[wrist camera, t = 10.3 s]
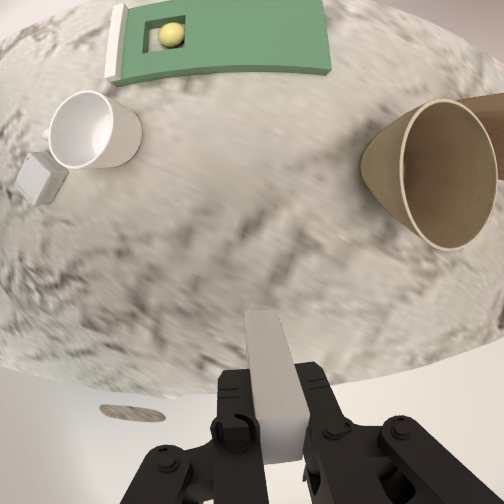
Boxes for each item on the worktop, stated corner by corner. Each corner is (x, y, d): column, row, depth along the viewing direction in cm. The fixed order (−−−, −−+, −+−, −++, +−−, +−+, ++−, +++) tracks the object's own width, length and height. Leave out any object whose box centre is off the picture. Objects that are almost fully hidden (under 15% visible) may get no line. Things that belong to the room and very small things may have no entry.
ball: (169, 52, 30) (151, 46, 26) (170, 32, 29) (153, 24, 25) (190, 45, 28) (173, 36, 25) (191, 24, 27) (174, 15, 24)
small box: (31, 182, 32) (12, 185, 27) (47, 150, 31) (28, 150, 26) (52, 203, 33) (33, 208, 29) (69, 171, 32) (51, 173, 28)
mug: (65, 166, 32) (21, 169, 22) (73, 110, 30) (31, 98, 20) (139, 169, 33) (107, 169, 23) (148, 107, 31) (120, 87, 21)
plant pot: (321, 127, 34) (380, 103, 18) (407, 112, 33) (483, 98, 18) (348, 233, 38) (412, 272, 23) (427, 206, 38) (501, 229, 22)
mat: (117, 86, 30) (104, 78, 25) (123, 18, 26) (113, 5, 22) (325, 75, 31) (337, 64, 27) (317, 8, 28) (326, -6, 24)
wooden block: (446, 175, 36) (543, 191, 17) (422, 118, 34) (522, 107, 15) (475, 151, 35) (562, 159, 16) (454, 99, 33) (543, 87, 14)
